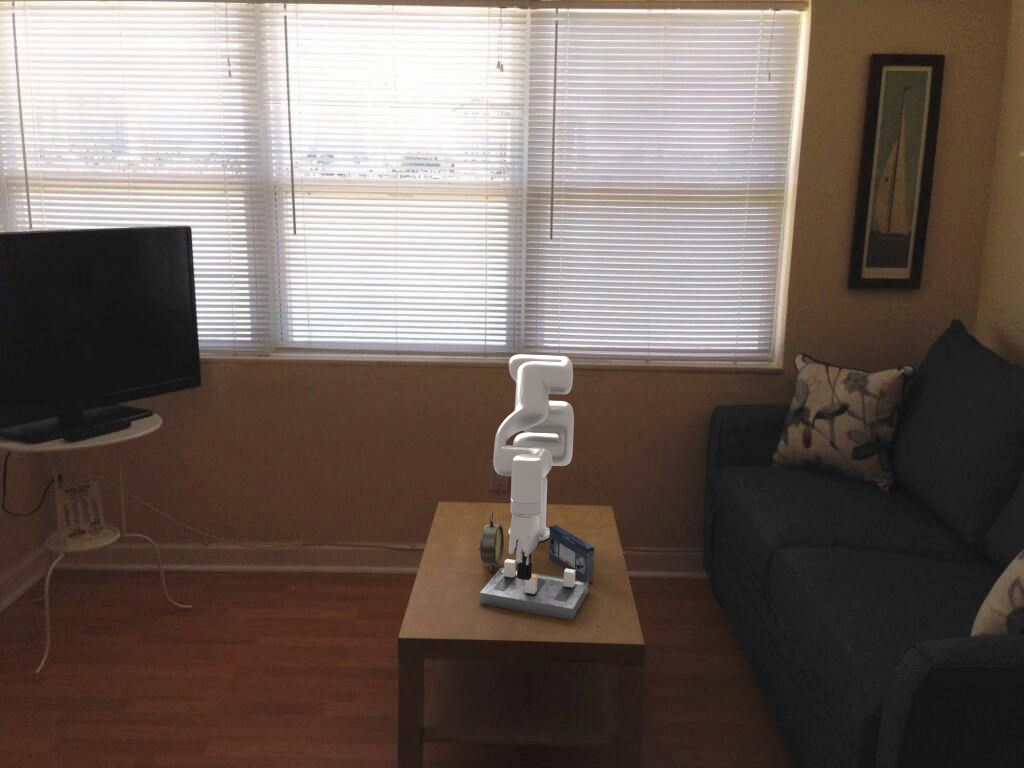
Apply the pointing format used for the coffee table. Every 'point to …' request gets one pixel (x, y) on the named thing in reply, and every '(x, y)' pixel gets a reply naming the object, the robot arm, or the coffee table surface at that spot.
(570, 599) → the breaker panel
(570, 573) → the block
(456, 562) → the coffee table surface
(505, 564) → the breaker
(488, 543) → the dial indicator gauge
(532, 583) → the block
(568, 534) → the vhs cassette tape
